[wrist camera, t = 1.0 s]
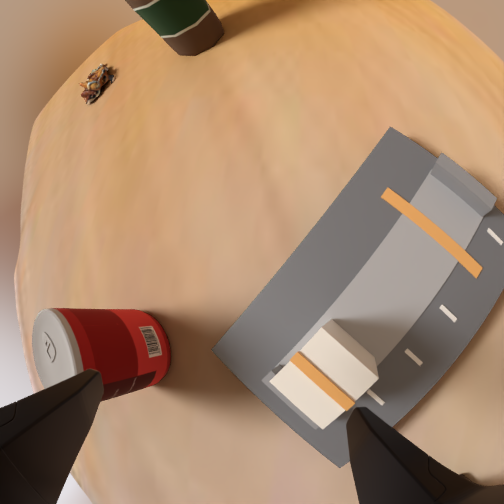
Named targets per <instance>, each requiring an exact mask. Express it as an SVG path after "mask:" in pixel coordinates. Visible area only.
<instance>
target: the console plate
mask: <svg viewBox="0 0 504 504" xmlns="http://www.w3.org/2000/svg"><path fill="white" fill-rule="evenodd" d="M496 200H497V198H496V197H495V196H494V195H493V194H492V193H491V192H490V191H489V190H487V189H486V188H485V187H484V186H483V185H482V184H481V183H480V182H478V181H477V180H476V179H475V178H474V177H472V176H471V175H470V174H469V173H468V172H466V171H465V170H464V169H463V168H461V167H460V166H459V165H458V164H456V163H455V162H454V161H453V160H451V159H450V158H449V157H447V156H446V155H445V154H443V153H441V154H440V156H439V158H437V157H435V156H434V155H433V154H431V153H430V152H428V151H427V150H425V149H424V148H423V147H421V146H420V145H418V144H417V143H415V142H414V141H412V140H411V139H409V138H408V137H406V136H404V135H403V134H401V133H400V132H398V131H397V130H395V129H393V128H392V127H390V128H389V129H388V130H387V132H386V133H385V134H384V136H383V137H382V138H381V140H380V141H379V143H378V144H377V145H376V147H375V148H374V149H373V151H372V152H371V153H370V155H369V156H368V157H367V159H366V160H365V161H364V163H363V164H362V165H361V167H360V168H359V169H358V171H357V172H356V173H355V174H354V176H353V177H352V178H351V180H350V181H349V182H348V184H347V185H346V186H345V188H344V189H343V190H342V191H341V193H340V194H339V195H338V197H337V198H336V199H335V200H334V202H333V203H332V204H331V206H330V207H329V208H328V209H327V211H326V212H325V213H324V215H323V216H322V217H321V218H320V220H319V221H318V222H317V223H316V225H315V226H314V227H313V228H312V230H311V231H310V232H309V233H308V235H307V236H306V237H305V238H304V240H303V241H302V242H301V243H300V245H299V246H298V247H297V248H296V250H295V251H294V252H293V253H292V255H291V256H290V257H289V258H288V259H287V261H286V262H285V263H284V264H283V266H282V267H281V268H280V269H279V270H278V272H277V273H276V274H275V275H274V277H273V278H272V279H271V280H270V281H269V283H268V284H267V285H266V286H265V287H264V289H263V290H262V291H261V292H260V293H259V295H258V296H257V297H256V298H255V299H254V301H253V302H252V303H251V304H250V305H249V306H248V308H247V309H246V310H245V311H244V312H243V314H242V315H241V316H240V317H239V318H238V319H237V321H236V322H235V323H234V324H233V325H232V326H231V328H230V329H229V330H228V331H227V332H226V333H225V335H224V336H223V337H222V338H221V339H220V340H219V341H218V343H217V344H216V345H215V346H214V347H213V348H212V349H211V350H212V351H213V352H214V354H215V355H216V356H217V357H218V358H219V359H220V360H221V361H222V362H223V363H224V364H225V365H226V366H227V367H228V368H229V369H230V370H231V371H232V372H233V373H234V374H235V376H236V377H237V378H238V379H239V380H240V381H241V382H242V383H243V384H244V385H245V386H246V387H247V388H248V389H249V390H251V391H252V392H253V393H254V394H255V395H256V396H257V397H258V398H259V399H260V400H261V401H262V402H263V403H264V404H265V405H266V406H267V407H268V408H269V409H270V410H271V411H273V412H274V413H275V414H276V415H277V416H278V417H279V418H280V419H281V420H282V421H284V422H285V423H286V424H287V425H288V426H289V427H290V428H291V429H293V430H294V431H295V432H296V433H297V434H298V435H299V436H301V437H302V438H303V439H304V440H305V441H307V442H308V443H309V444H310V445H311V446H313V447H314V448H315V449H316V450H317V451H319V452H320V453H321V454H322V455H324V456H325V457H326V458H327V459H329V460H330V461H331V462H332V463H334V464H335V465H336V466H338V467H339V468H341V467H342V466H344V465H345V464H347V463H348V462H349V461H350V457H349V448H348V439H347V430H346V423H347V421H348V419H349V417H350V415H351V413H352V411H353V409H354V408H355V407H363V406H364V407H367V408H368V409H370V410H371V411H372V412H373V413H375V414H376V415H377V416H378V417H380V418H381V419H382V420H383V421H385V422H386V423H387V424H388V425H390V426H391V427H393V426H394V425H395V424H396V423H397V422H398V421H400V420H401V419H402V418H403V417H404V416H405V415H406V414H407V413H408V412H409V411H410V410H411V409H412V408H413V407H414V406H415V405H416V404H417V403H418V402H419V401H420V400H421V399H422V398H423V397H424V396H425V395H426V394H427V393H428V392H429V391H430V390H431V388H432V387H433V386H434V385H435V384H436V383H437V382H438V381H439V379H440V378H441V377H442V376H443V375H444V374H445V373H446V371H447V370H448V369H449V368H450V367H451V365H452V364H453V363H454V362H455V360H456V359H457V358H458V357H459V355H460V354H461V353H462V351H463V350H464V349H465V347H466V346H467V345H468V343H469V342H470V341H471V339H472V338H473V336H474V335H475V334H476V332H477V331H478V329H479V328H480V326H481V325H482V323H483V322H484V320H485V319H486V317H487V316H488V314H489V313H490V311H491V309H492V308H493V306H494V304H495V303H496V301H497V299H498V298H499V296H500V294H501V292H502V291H503V289H504V214H503V213H502V212H501V211H500V210H499V209H497V208H496V207H495V206H494V204H495V202H496ZM331 319H332V320H333V321H335V322H336V323H337V324H338V325H339V326H340V327H341V328H342V329H344V330H345V331H346V332H347V333H348V334H349V335H350V336H351V337H353V338H354V339H355V340H356V341H357V342H358V343H359V344H360V345H362V346H363V347H364V348H365V349H366V350H367V351H368V352H369V353H371V354H372V355H373V356H374V357H375V361H376V366H377V371H378V377H379V379H378V380H377V381H376V382H375V383H374V384H373V385H372V386H371V387H370V388H369V389H368V390H367V391H366V392H365V393H364V394H363V395H361V396H360V397H359V398H358V399H357V400H356V401H355V404H354V405H353V406H352V407H351V408H350V409H349V410H348V411H346V410H345V411H344V412H343V413H342V414H341V415H339V416H338V417H337V418H336V419H335V420H334V421H332V422H331V423H330V424H329V425H328V426H326V427H325V428H324V429H321V428H320V427H319V426H318V425H317V424H316V423H314V422H313V421H312V420H311V419H310V418H309V417H308V416H306V415H305V414H304V413H303V412H302V411H301V410H300V409H299V408H297V407H296V406H295V405H294V404H293V403H292V402H291V401H290V400H289V399H288V398H286V397H285V396H284V395H283V394H282V393H281V392H280V391H279V390H278V389H277V388H276V387H275V386H274V385H272V384H271V383H270V382H269V381H270V380H271V379H272V378H273V377H274V376H275V375H276V374H277V373H278V372H279V371H280V370H281V369H282V368H283V367H284V366H285V365H286V364H287V363H288V362H289V361H290V359H291V358H292V357H293V356H294V355H295V354H296V353H297V352H298V351H300V350H301V349H302V348H303V347H304V346H305V345H306V344H307V343H308V341H309V340H310V339H311V338H312V337H313V336H314V335H315V334H316V333H317V332H318V331H319V329H320V328H321V327H322V326H324V325H325V324H326V323H327V322H328V321H330V320H331Z"/></svg>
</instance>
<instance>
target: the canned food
mask: <svg viewBox="0 0 504 504" xmlns="http://www.w3.org/2000/svg"><path fill="white" fill-rule="evenodd" d="M32 347H33V355H34V361H35V365H36V369H37V372H38V375H39V378H40V380H41V382H42V384H43V386H44V388H45V389H46V388H48V387H50V386H53V385H55V384H57V383H59V382H61V381H64V380H66V379H68V378H70V377H72V376H74V375H77V374H79V373H81V372H83V371H85V370H87V369H94V370H97V371H99V372H100V373H101V377H102V382H103V388H104V391H103V395H102V398H101V401H104V400H108V399H111V398H115V397H118V396H121V395H124V394H128V393H131V392H134V391H137V390H140V389H143V388H146V387H149V386H152V385H154V384H156V383H158V382H159V381H160V380H161V379H162V378H163V377H164V376H165V375H166V373H167V371H168V369H169V366H170V360H171V351H170V345H169V341H168V338H167V336H166V334H165V331H164V329H163V328H162V326H161V325H160V324H159V322H158V321H157V320H156V319H155V318H153V317H152V316H151V315H149V314H147V313H145V312H142V311H140V310H135V309H70V308H50V309H43V310H41V311H40V312H39V313H38V315H37V317H36V319H35V322H34V326H33V334H32ZM101 401H100V402H101Z"/></svg>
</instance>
